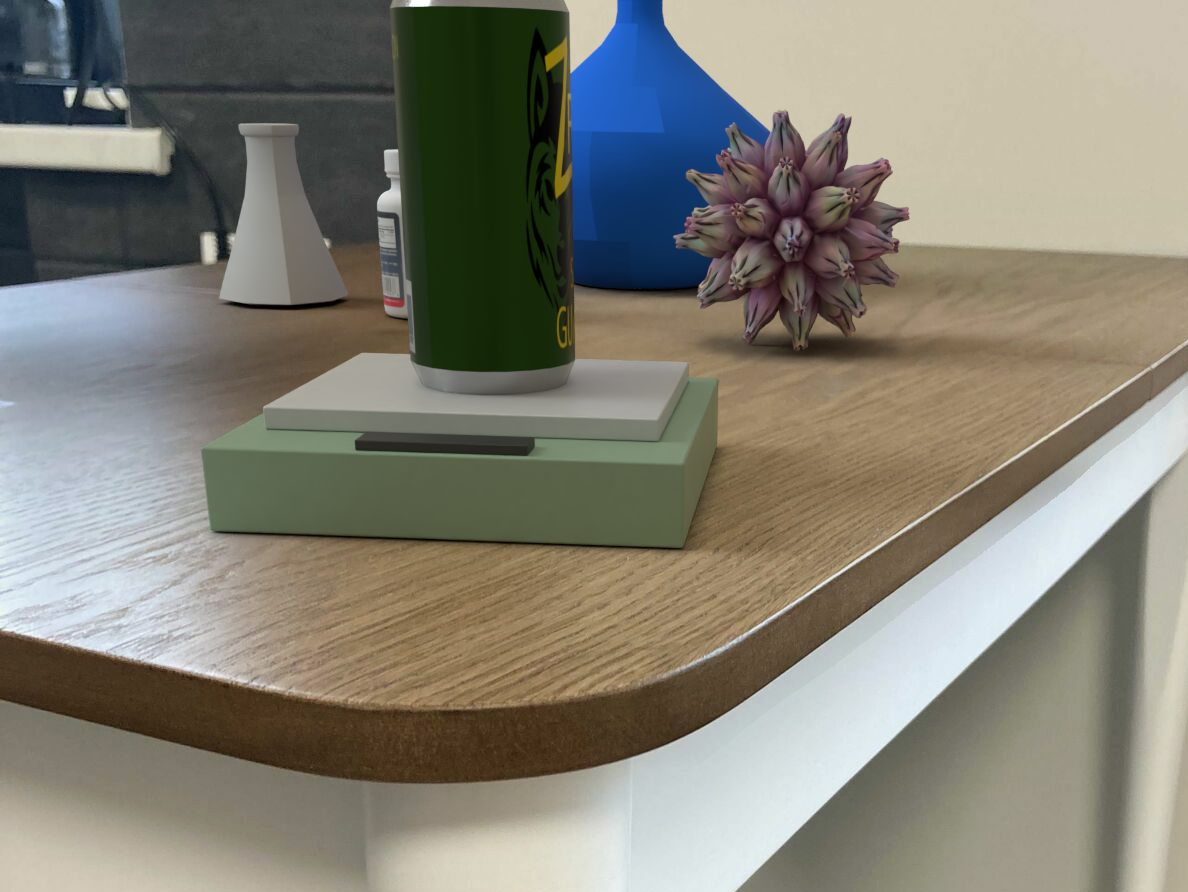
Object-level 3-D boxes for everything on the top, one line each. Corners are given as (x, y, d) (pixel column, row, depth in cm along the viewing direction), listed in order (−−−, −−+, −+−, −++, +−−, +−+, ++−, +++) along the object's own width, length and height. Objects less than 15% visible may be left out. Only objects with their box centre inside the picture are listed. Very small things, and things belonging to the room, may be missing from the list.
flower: (923, 374, 80) (822, 354, 70) (732, 343, 86) (613, 320, 76) (968, 145, 78) (869, 91, 67) (767, 128, 83) (648, 75, 73)
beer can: (420, 399, 47) (395, -37, 42) (403, 370, 52) (379, -25, 47) (590, 393, 48) (585, -29, 43) (559, 365, 53) (551, -18, 48)
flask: (197, 303, 90) (176, 123, 86) (277, 291, 96) (261, 122, 92) (293, 312, 88) (276, 126, 84) (370, 299, 94) (357, 124, 90)
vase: (453, 277, 105) (439, -33, 97) (654, 262, 116) (655, -16, 109) (622, 305, 93) (620, -47, 85) (827, 285, 104) (842, -27, 96)
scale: (209, 531, 44) (196, 422, 43) (348, 433, 57) (342, 347, 56) (683, 549, 43) (684, 437, 42) (717, 445, 56) (719, 358, 55)
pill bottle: (488, 310, 90) (481, 149, 86) (460, 322, 85) (451, 152, 81) (403, 307, 90) (393, 147, 87) (370, 318, 86) (358, 150, 82)
